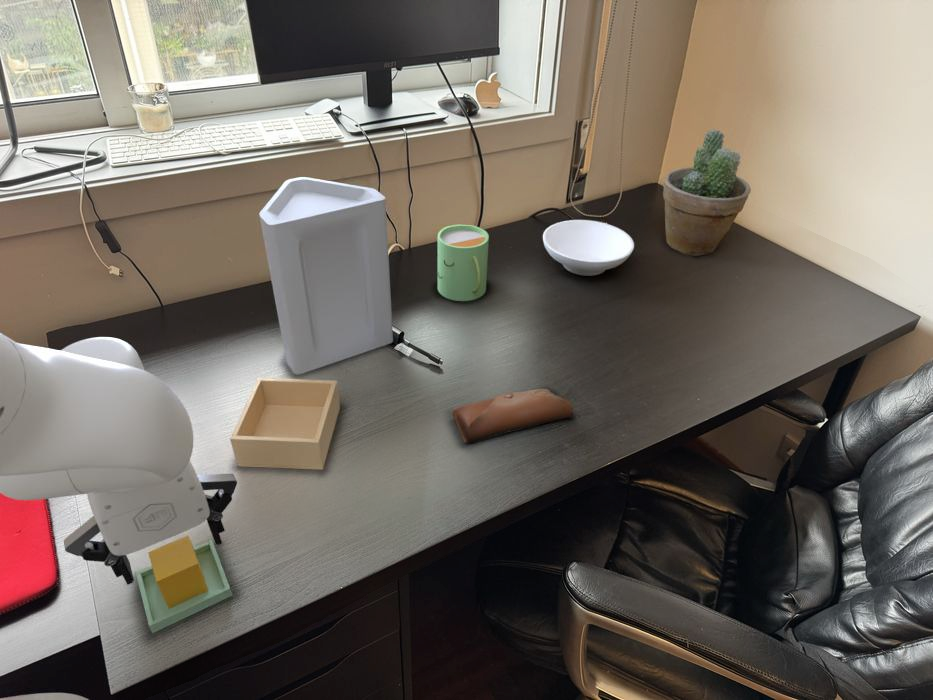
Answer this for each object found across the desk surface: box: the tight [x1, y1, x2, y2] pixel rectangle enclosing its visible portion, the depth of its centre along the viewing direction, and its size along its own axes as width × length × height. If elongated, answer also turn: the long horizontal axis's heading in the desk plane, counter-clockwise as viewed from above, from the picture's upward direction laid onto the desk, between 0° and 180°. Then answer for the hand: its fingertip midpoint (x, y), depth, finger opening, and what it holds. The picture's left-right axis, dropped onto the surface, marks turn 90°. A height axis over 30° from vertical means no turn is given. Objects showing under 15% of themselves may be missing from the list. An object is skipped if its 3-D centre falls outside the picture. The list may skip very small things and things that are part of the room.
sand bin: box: [229, 377, 341, 471], centre depth 96 cm, size 13×12×6 cm
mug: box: [435, 224, 490, 302], centre depth 128 cm, size 13×10×12 cm
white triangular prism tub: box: [258, 176, 394, 376], centre depth 109 cm, size 19×15×28 cm
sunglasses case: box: [452, 388, 574, 445], centre depth 101 cm, size 18×7×7 cm
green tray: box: [135, 539, 233, 634], centre depth 76 cm, size 9×8×2 cm
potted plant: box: [662, 129, 752, 257], centre depth 143 cm, size 18×19×25 cm
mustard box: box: [147, 535, 208, 609], centre depth 74 cm, size 4×4×6 cm
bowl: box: [542, 219, 635, 277], centre depth 139 cm, size 20×20×7 cm
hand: (173, 554), depth 73 cm, fingers open, 9 cm apart
